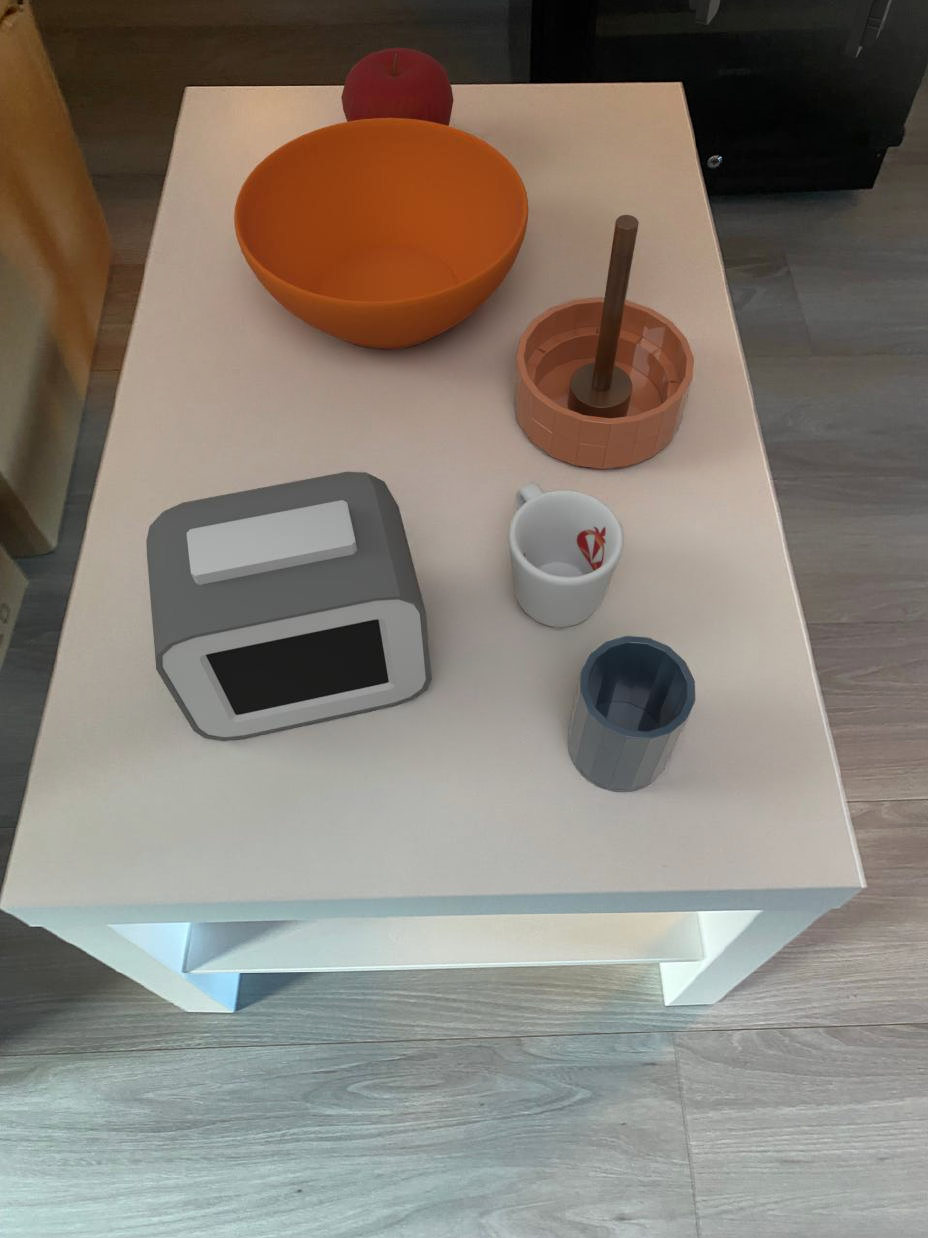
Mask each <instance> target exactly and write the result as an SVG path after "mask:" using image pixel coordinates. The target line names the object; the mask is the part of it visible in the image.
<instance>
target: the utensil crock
mask: <svg viewBox="0 0 928 1238" xmlns="http://www.w3.org/2000/svg"><path fill="white" fill-rule="evenodd" d="M695 703H696V681H695V678H694V676H693V674H692V672H691V670H690V668H689V666H688V664H687V662H686V661H685V659H683V658H682V657H681V656H680V655H679V654H678V653H677V652H676V651H675V650H674V649H673V648H672V647H670V646H669V645H667V644H664V643H663V642H660V641H657V640H655V639H653V638H651V637H646V636H645V637H644V636H633V635H625V636H621V637H618V638H614V639H610V640H606V641H605V642H604V643H602V644H601V645H600V646H599V647H597V648H596V649H594V650H593V651H591V653H590V654H589V655H588V656H587V658H586V661H585V663H584V664H583V666H582V667H581V671H580V674H579V678H578V684H577V687H576V693H575V698H574V701H573V707H572V712H571V717H570V721H569V726H568V734H567V748H568V753H569V756H570V759H571V761H572V763H573V765H574V767H575V768H576V769H577V772H579V773H580V774H581V776H583V777H584V778H585V779H586V780H587V781H588V782H590V783H591V784H593V785H594V786H596V787H599V788H601V789H603V790H607V791H610V792H615V793H616V792H617V793H628V792H629V793H630V792H634V791H639V790H642V789H644V788H646V787H648V786H649V785H652V783H654V782H655V781H656V780H657V779H658V778H659V777H660V776H661V774H663V772H664V771H665V769H666V766H667V765H668V762H669V760H670V758H671V756H672V753H673V751H674V749H675V746H676V745H677V742H678V740H679V738H680V736H681V734H682V732H683V729H684V727H685V725H686V723H687V721H688V718H689V716H690V714H691V711H692V710H693V707H694V705H695Z"/></svg>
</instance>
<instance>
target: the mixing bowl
mask: <svg viewBox="0 0 928 1238" xmlns="http://www.w3.org/2000/svg"><path fill="white" fill-rule="evenodd" d="M604 297H605V296H597V297H596V296H595V297H586V298H577V299H572V300H568V301H566V302H564V303H560V304H557V305H555V306H552V307H550V308H548V309H546V311H544V312H542V313H541V314H539V315H538V316H537V317H535V318H534V319H533V320H532V321H531V322H530V323H529V324H528V326H527V328H526V329H525V331H524V332H523V333H522V335H521V336H520V338H519V343H518V346H517V350H516V351H517V352H516V356H515V372H514V373H515V375H514V395H513V406H514V410H515V411H514V412H515V414H516V419H517V423H518V424H519V426H520V428H521V429H522V430H523V432H524V433H525V435H526V436H527V438H528V439H529V440H530V441H531V442H532V443H533V444H534V445H536V447H538V448H539V449H541V450H542V451H544V452H545V453H546V454H547V455H549V456H550V457H553V458H555V459H557V460H560V461H563V462H565V463H567V464H569V465H572V466H578V467H586V468H593V469H600V470H605V469H615V468H623V467H631V466H633V465H635V464H638V463H640V462H643V461H645V460H649V459H650V458H652V457H654V456H655V455H657V454H658V453H659V452H660V451H661V450H662V449H664V448H665V447H667V446H668V445H669V444H670V443H671V441H672V439H673V438H674V436H675V434H676V432H677V431H678V429H679V427H680V424H681V422H682V418H683V416H684V415H683V414H684V410H685V408H686V403H687V401H688V400H687V399H688V397H689V393H690V389H691V385H692V381H693V378H694V366H695V365H694V363H695V357H694V355H693V351H692V349H691V346H690V344H689V341H688V339H687V337H686V336H685V335H684V334H683V332H682V331H681V330H680V329H679V328H678V327H677V325H676V324H675V323H674V322H673V321H672V320H671V319H669V318H667V317H666V316H665V315H662V314H661V313H659V312H658V311H656V310H654V309H653V308H652V307H649V306H646V305H642V304H639V303H637V302H633V301H631V300H628V299H626V300H625V306H624V312H623V318H622V323H621V329H620V335H619V341H618V347H617V353H616V358H615V364H614V365H615V366H617V367H619V368H621V369H622V370H624V371H625V372H626V373H627V374H628V376H629V377H630V379H631V382H632V393H631V398H630V403H629V408H628V412H627V414H626V416H625V417H618V418H603V417H595V416H587V415H582V414H579V413H577V412H574V411H572V410H569V408H568V396H569V388H570V380H571V377H572V375H573V374H574V372H575V371H576V370H577V369H579V368H580V367H582V366H584V365H587V364H590V363H595V358H596V351H597V344H598V337H599V331H600V324H601V317H602V310H603V304H604Z"/></svg>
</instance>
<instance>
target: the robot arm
mask: <svg viewBox="0 0 928 1238" xmlns="http://www.w3.org/2000/svg"><path fill="white" fill-rule="evenodd" d="M892 1H893V0H859V1H858V4H857V8H856V11H855V13H854V18H853V20H852V24H851V28H850V30H849V34H848V37H847V40H846V44H845V47H844V50H843V56H844V57H845V56H846V57H850V58H854V59H856V58H858V56H859V54H860V52H861V51H862V49H863V48H864V49H870V48H871V47H872V46H873V44H874V43H875V42H876V40H878V37H879V36H880V33H881V32H882V29H883V28H884V26H885V25H884V24H885V22H886V19H887V15H888V13H889V9H890V7H891V3H892ZM720 2H721V0H688V6H689V10H691V11H692V10H693V11H695V17H694V18H695V19H694V22H695V23H696V24H700V25H705V26H708V25H710V23H711V21H712V20H713V19H714V17H715V16H716V14H717V12H718V10H719V7H720Z"/></svg>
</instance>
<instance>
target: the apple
mask: <svg viewBox="0 0 928 1238" xmlns="http://www.w3.org/2000/svg"><path fill="white" fill-rule="evenodd" d="M451 84H452V83H451V81H450V78H449V76H448V73H447V71H446V67H444V66H443V65H442V64H441V63H440V62H439V61H438V60H437V59H436V58H434V57H432V56H430V55H429V54H427V53H425V52H424V51H420V50H417V49H413V48H406V47H392V48H384V49H381V50H377V51H373V52H371V53H369V54H367V55H366V56H364V57H362V58H361V59H360V60H359V61H357V63H356V64H354V65H353V66H352V67H351V69H350V71H349V73H348V74H347V76H346V78H345V81H344V85H343V89H342V93H341V98H340V99H341V105H342V109H343V110H342V111H343V113H344V116H345V119H346V122H349V121H355V120H362V119H374V118H405V119H416V120H423V121H429V122H434V123H438V124H443V125H447V126H450V122H451V118H452V117H451V116H452V112H453V106H454V93H453V88H452V85H451Z"/></svg>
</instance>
